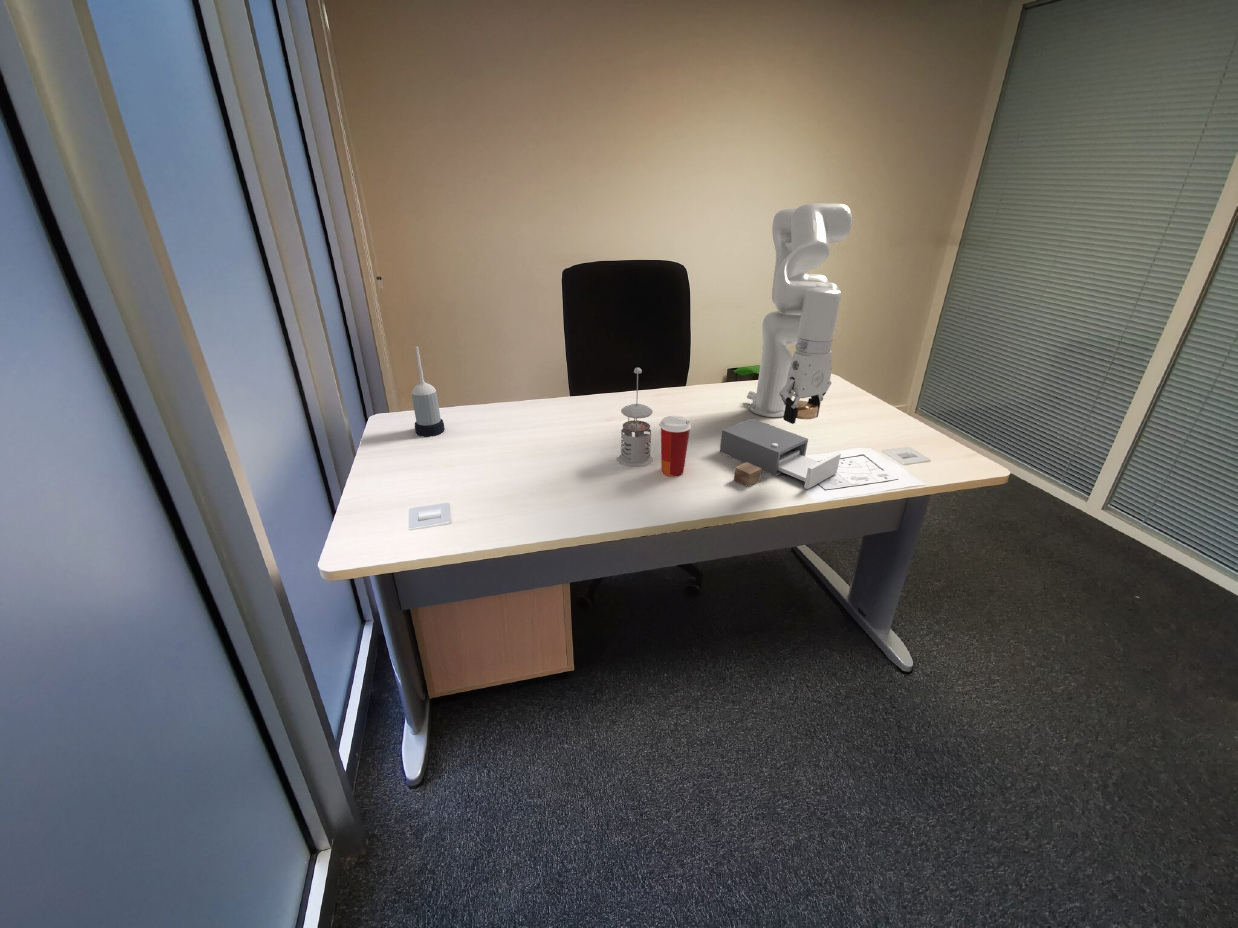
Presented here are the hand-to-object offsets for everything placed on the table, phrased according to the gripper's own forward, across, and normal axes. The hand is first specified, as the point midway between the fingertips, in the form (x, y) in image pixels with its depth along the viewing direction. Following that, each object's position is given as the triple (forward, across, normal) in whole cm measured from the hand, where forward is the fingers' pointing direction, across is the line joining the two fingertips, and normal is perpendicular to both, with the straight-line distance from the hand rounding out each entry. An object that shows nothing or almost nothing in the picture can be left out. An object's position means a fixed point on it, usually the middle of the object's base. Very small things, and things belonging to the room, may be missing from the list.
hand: (800, 418), depth 129 cm
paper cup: (+16, -25, +16) cm, 34 cm away
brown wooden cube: (+15, -12, +3) cm, 20 cm away
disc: (-1, 0, 0) cm, 1 cm away
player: (+15, +1, +11) cm, 19 cm away
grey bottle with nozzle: (+16, -72, +72) cm, 103 cm away
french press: (+16, -29, +27) cm, 43 cm away
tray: (+15, +2, +2) cm, 15 cm away
